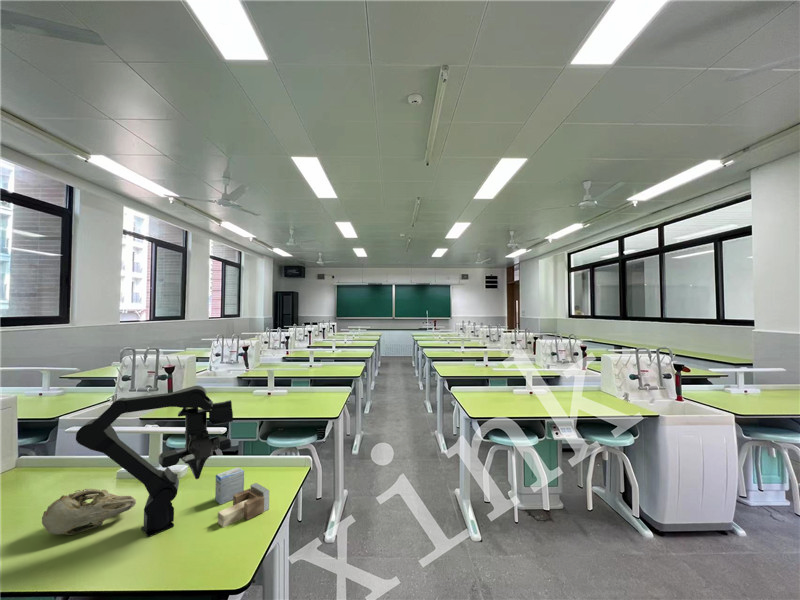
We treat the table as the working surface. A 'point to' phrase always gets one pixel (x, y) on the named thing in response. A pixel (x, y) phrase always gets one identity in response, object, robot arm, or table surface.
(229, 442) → the robot arm
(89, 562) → the table surface
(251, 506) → the cradle
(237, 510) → the block
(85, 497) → the skull
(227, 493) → the medicine box
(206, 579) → the table surface
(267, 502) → the wall
